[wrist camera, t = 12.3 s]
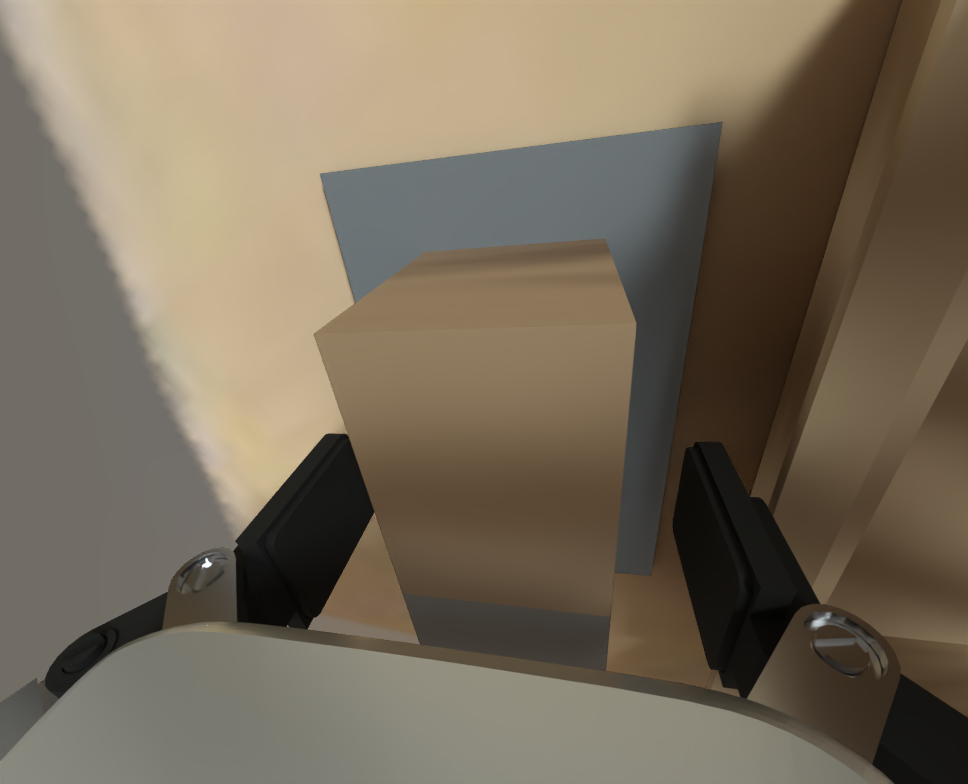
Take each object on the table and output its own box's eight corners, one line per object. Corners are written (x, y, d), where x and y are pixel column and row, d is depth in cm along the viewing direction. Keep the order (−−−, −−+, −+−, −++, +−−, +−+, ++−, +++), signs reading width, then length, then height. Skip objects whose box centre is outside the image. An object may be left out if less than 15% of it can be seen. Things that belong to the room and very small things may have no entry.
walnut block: (424, 251, 12) (313, 333, 7) (605, 238, 11) (636, 322, 6) (468, 501, 17) (424, 656, 12) (593, 509, 16) (604, 682, 11)
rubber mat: (327, 172, 11) (319, 173, 11) (716, 123, 9) (722, 121, 9) (428, 548, 19) (425, 555, 19) (649, 567, 17) (650, 575, 17)
